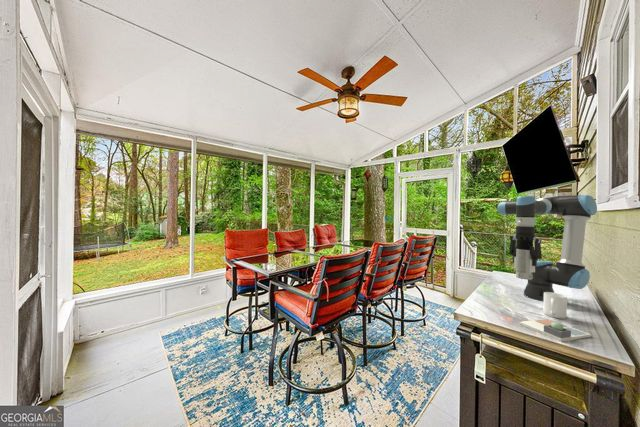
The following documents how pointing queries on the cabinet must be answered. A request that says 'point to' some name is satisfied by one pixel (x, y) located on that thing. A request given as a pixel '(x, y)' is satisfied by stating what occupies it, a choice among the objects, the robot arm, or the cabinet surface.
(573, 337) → the picture board
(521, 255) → the spray can
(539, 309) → the cabinet surface
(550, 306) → the mug
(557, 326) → the button
